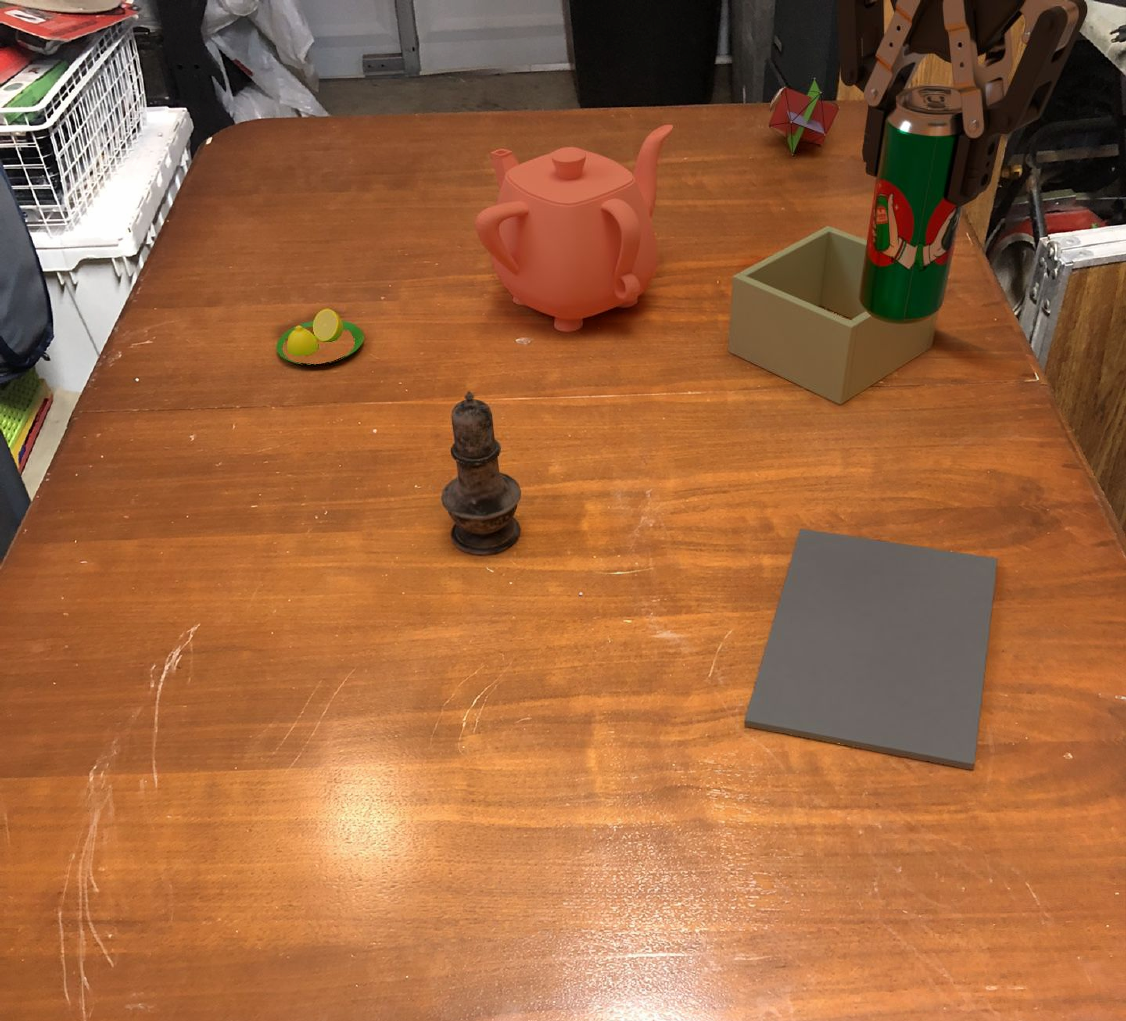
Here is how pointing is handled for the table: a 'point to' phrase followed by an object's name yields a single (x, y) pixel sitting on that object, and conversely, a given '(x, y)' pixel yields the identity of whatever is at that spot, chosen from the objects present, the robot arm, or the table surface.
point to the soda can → (913, 207)
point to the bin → (818, 319)
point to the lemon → (317, 335)
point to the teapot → (574, 230)
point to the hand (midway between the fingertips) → (920, 184)
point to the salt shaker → (479, 484)
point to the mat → (878, 648)
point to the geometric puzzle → (802, 115)
